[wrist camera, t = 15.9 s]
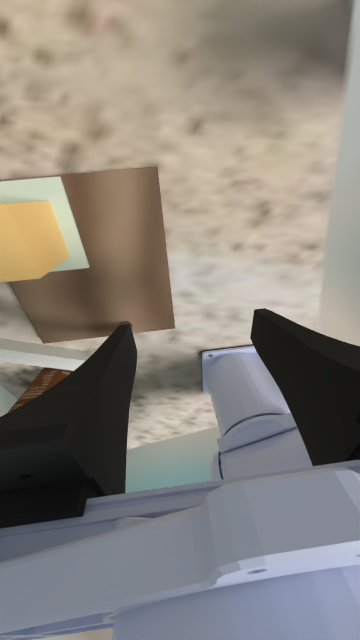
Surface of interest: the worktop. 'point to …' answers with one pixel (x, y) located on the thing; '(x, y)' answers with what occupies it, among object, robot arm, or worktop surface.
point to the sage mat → (56, 195)
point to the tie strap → (42, 355)
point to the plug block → (29, 241)
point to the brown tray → (106, 261)
